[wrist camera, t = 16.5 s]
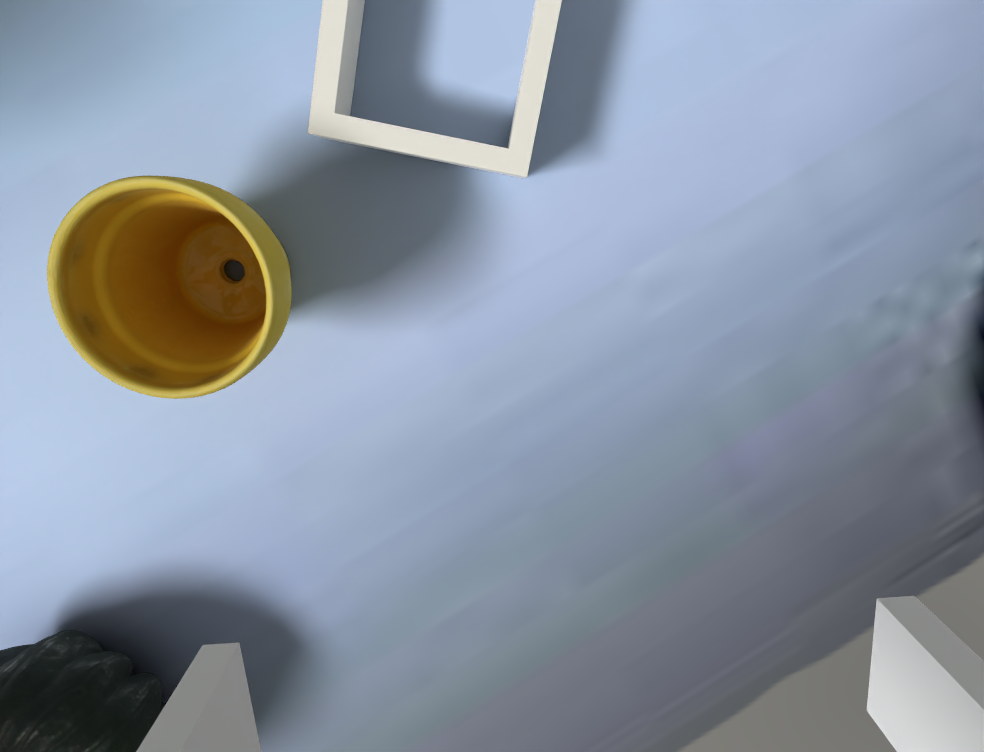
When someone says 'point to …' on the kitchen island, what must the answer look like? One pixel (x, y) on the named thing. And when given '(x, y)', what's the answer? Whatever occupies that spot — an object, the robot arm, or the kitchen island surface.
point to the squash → (74, 698)
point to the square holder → (337, 124)
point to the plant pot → (168, 285)
